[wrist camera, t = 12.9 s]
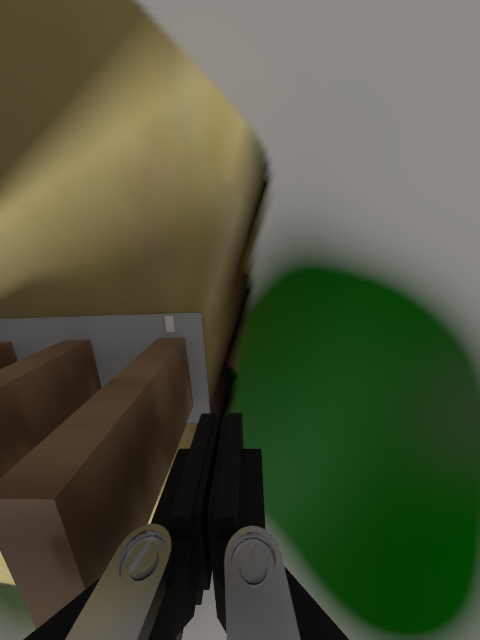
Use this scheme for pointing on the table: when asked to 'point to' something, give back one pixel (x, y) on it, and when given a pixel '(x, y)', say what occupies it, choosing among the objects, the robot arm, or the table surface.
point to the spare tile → (93, 479)
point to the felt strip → (117, 342)
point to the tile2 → (43, 396)
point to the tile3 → (7, 354)
